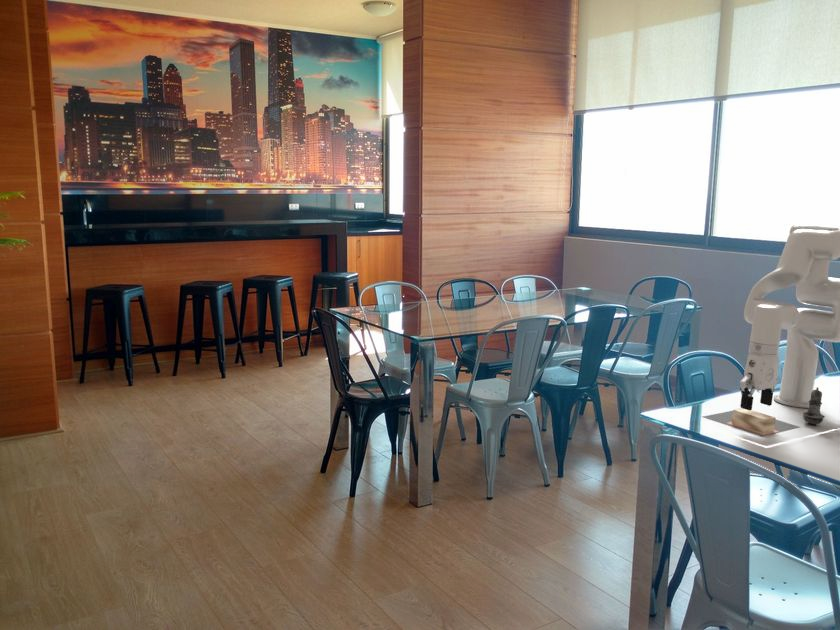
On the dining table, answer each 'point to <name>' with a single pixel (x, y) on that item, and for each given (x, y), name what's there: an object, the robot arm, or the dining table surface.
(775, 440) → the dining table surface
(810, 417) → the dark grey tower figurine
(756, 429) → the light wood block
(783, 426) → the mat
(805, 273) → the robot arm
